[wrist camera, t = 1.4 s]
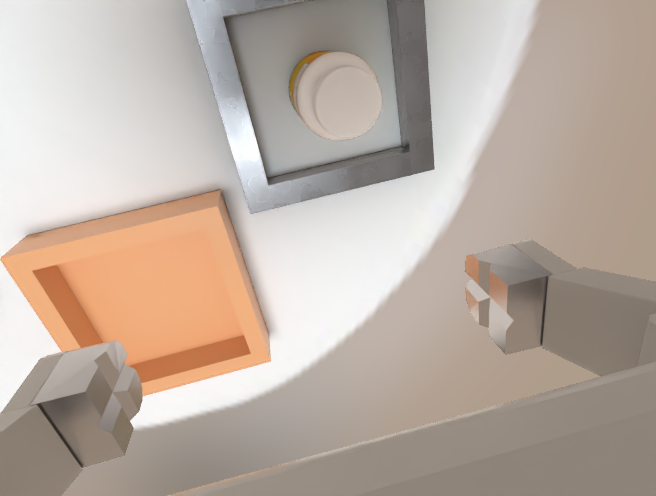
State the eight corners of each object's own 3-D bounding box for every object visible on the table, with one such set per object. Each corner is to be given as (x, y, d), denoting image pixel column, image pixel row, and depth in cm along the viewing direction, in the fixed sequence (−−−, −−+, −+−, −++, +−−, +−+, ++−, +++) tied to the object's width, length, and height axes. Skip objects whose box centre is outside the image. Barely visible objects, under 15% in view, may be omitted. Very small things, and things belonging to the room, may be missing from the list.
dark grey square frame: (186, -10, 27) (181, -13, 25) (409, -54, 28) (420, -61, 27) (250, 205, 35) (250, 214, 33) (425, 163, 36) (434, 169, 34)
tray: (26, 235, 32) (-1, 258, 29) (220, 189, 34) (217, 206, 30) (112, 376, 40) (99, 408, 36) (268, 334, 41) (270, 361, 38)
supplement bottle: (365, 67, 31) (409, 74, 23) (340, 133, 33) (372, 162, 25) (301, 38, 30) (323, 35, 21) (278, 110, 32) (290, 132, 23)
